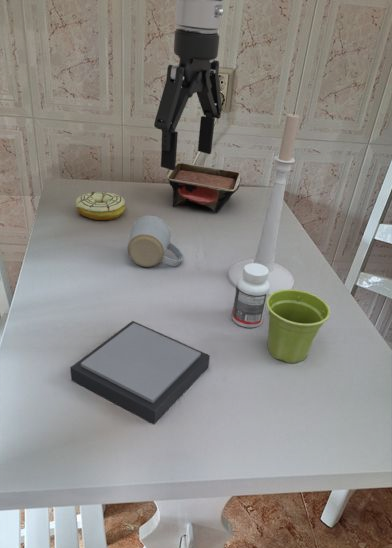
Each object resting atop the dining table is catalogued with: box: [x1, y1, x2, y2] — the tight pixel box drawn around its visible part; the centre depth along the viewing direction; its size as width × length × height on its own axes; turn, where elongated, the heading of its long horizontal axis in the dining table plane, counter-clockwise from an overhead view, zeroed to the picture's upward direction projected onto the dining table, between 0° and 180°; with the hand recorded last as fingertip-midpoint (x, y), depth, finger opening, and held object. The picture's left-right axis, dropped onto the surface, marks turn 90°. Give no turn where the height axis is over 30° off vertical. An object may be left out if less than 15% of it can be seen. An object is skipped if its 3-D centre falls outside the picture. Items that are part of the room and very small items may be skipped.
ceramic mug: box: [127, 215, 184, 268], centre depth 94 cm, size 11×8×8 cm
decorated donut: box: [75, 191, 126, 221], centre depth 110 cm, size 10×11×4 cm
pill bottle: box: [231, 263, 270, 329], centre depth 80 cm, size 5×5×10 cm
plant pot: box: [266, 288, 331, 364], centre depth 75 cm, size 9×9×9 cm
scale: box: [69, 320, 211, 425], centre depth 69 cm, size 14×14×3 cm
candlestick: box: [227, 112, 300, 296], centre depth 85 cm, size 13×13×30 cm
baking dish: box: [166, 162, 242, 214], centre depth 120 cm, size 14×18×10 cm
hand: (187, 160), depth 94 cm, fingers open, 13 cm apart
